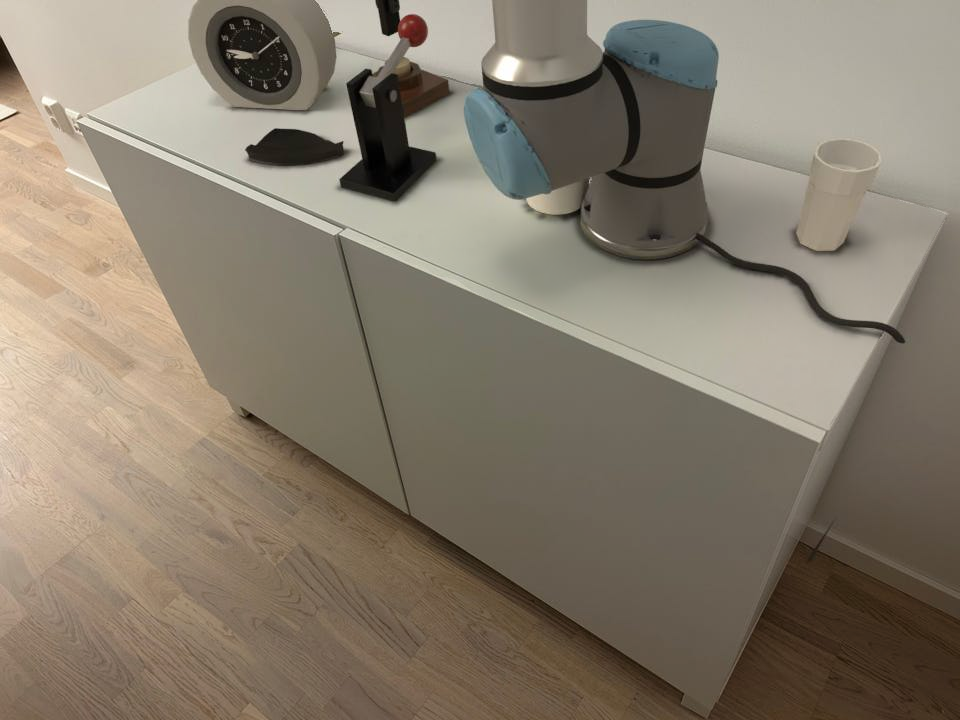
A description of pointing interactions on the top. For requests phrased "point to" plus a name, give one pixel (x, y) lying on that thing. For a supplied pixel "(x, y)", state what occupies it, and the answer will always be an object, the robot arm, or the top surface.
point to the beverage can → (560, 199)
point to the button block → (419, 88)
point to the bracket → (383, 142)
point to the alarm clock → (263, 51)
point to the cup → (835, 191)
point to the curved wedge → (293, 148)
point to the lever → (397, 52)
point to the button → (403, 67)
